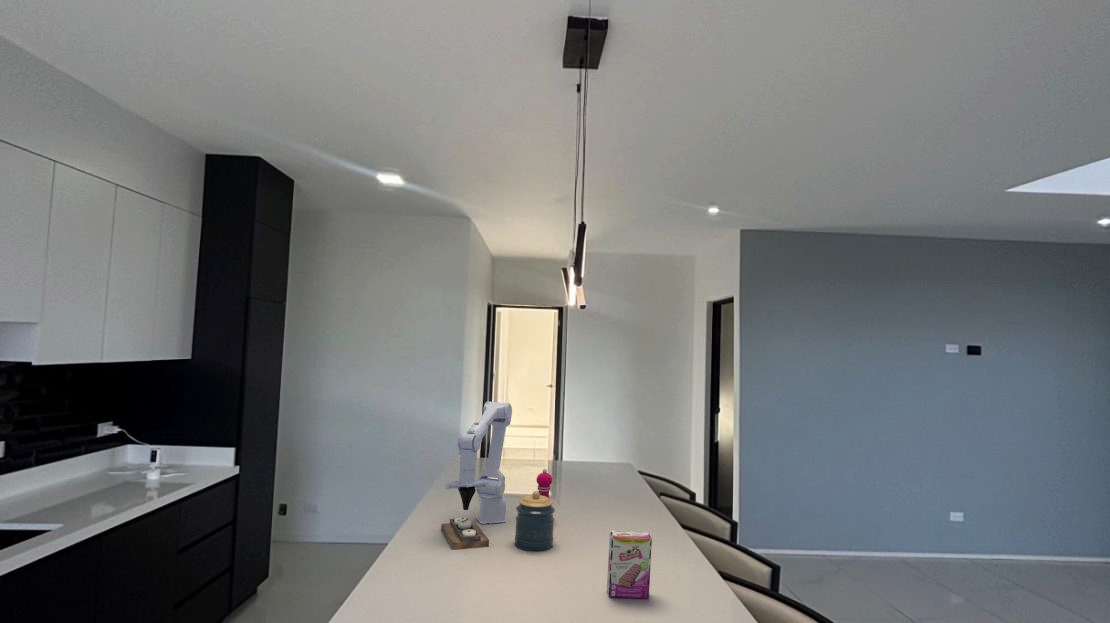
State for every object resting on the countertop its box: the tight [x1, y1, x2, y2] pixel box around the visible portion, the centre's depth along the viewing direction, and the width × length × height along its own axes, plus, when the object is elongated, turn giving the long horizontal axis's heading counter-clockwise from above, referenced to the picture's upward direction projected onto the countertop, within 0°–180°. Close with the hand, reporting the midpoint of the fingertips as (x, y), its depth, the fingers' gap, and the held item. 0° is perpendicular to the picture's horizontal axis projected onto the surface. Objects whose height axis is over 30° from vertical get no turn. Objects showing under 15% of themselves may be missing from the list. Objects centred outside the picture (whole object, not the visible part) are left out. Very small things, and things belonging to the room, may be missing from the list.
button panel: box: [440, 517, 490, 550], centre depth 195 cm, size 12×20×4 cm, turn 22°
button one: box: [462, 529, 476, 537], centre depth 189 cm, size 4×4×2 cm
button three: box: [458, 518, 472, 529], centre depth 195 cm, size 4×4×2 cm
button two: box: [453, 517, 467, 524], centre depth 201 cm, size 4×4×2 cm
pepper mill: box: [536, 468, 553, 507], centre depth 216 cm, size 7×7×20 cm
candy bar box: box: [606, 530, 653, 600], centre depth 156 cm, size 11×5×16 cm, turn 92°
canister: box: [514, 490, 556, 552], centre depth 192 cm, size 13×13×18 cm
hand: (465, 509), depth 195 cm, fingers closed
